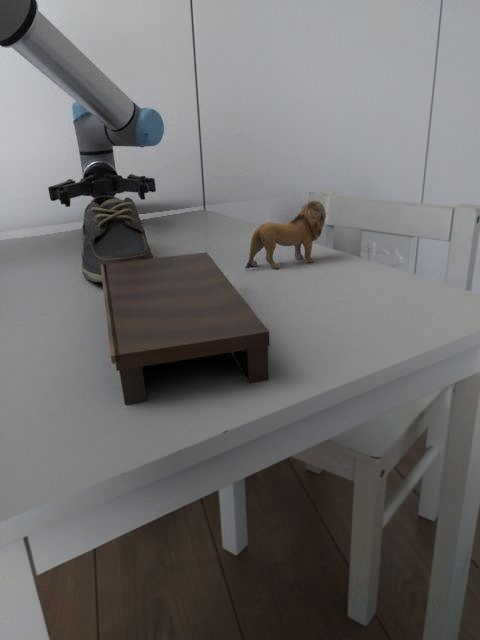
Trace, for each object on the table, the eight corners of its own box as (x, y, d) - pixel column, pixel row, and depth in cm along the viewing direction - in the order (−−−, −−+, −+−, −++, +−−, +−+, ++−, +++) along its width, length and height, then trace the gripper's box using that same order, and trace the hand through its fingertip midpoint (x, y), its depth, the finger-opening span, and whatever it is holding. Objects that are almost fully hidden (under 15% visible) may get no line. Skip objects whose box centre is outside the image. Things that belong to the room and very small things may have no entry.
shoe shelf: (106, 300, 77) (100, 264, 75) (209, 286, 81) (206, 252, 79) (119, 406, 51) (110, 355, 49) (271, 379, 55) (269, 331, 52)
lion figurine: (313, 251, 95) (313, 196, 91) (333, 258, 91) (334, 201, 87) (237, 268, 88) (233, 209, 85) (255, 276, 84) (252, 215, 80)
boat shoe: (94, 299, 78) (80, 220, 73) (68, 251, 102) (56, 189, 98) (171, 286, 82) (163, 210, 77) (128, 242, 106) (120, 183, 102)
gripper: (160, 192, 128) (174, 209, 109) (44, 203, 122) (37, 223, 103) (156, 157, 125) (170, 168, 106) (36, 166, 119) (28, 180, 100)
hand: (104, 195), depth 105 cm, fingers open, 13 cm apart
